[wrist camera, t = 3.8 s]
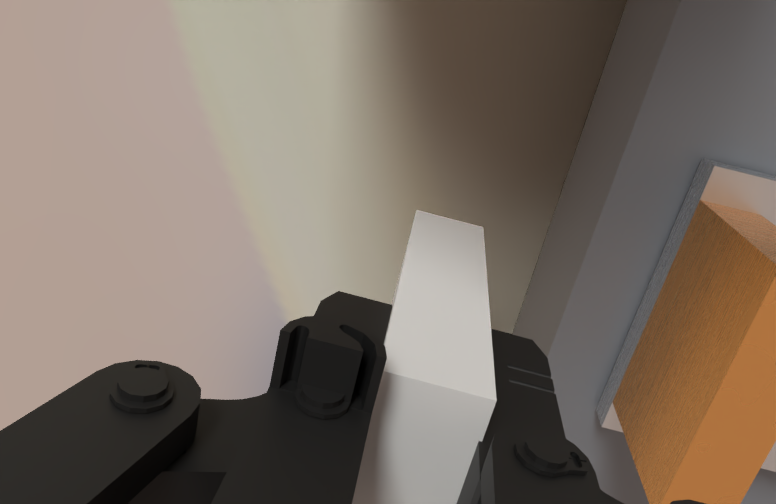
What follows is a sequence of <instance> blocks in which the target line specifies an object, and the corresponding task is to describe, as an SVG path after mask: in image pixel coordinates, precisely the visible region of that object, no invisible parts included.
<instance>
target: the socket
mask: <svg viewBox="0 0 776 504" xmlns="http://www.w3.org/2000/svg"><path fill="white" fill-rule="evenodd" d="M702 158H706V159H710V160H714V161H718V162H722V163H726V164H730V165H734V166H738V167H742V168H746V169H750V170H754V171H758V172H762V173H766V174H770V175H774V176H776V0H627V3H626V6H625V9H624V11H623V14H622V17H621V20H620V23H619V26H618V29H617V32H616V35H615V38H614V40H613V43H612V46H611V49H610V52H609V55H608V58H607V61H606V64H605V67H604V69H603V72H602V75H601V78H600V81H599V84H598V87H597V90H596V93H595V96H594V98H593V101H592V104H591V107H590V110H589V113H588V116H587V119H586V122H585V125H584V127H583V130H582V133H581V136H580V139H579V142H578V145H577V148H576V151H575V154H574V156H573V159H572V162H571V165H570V168H569V171H568V174H567V177H566V180H565V183H564V185H563V188H562V191H561V194H560V197H559V200H558V203H557V206H556V209H555V212H554V214H553V217H552V220H551V223H550V226H549V229H548V232H547V235H546V238H545V241H544V243H543V246H542V249H541V252H540V255H539V258H538V261H537V264H536V267H535V270H534V273H533V275H532V278H531V281H530V284H529V287H528V290H527V293H526V296H525V299H524V302H523V304H522V307H521V310H520V313H519V316H518V319H517V322H516V325H515V328H514V331H513V333H512V334H513V335H516V336H520V337H524V338H528V339H532V340H533V341H534V342H535V343H536V345H537V346H538V347H539V348H540V349H541V351H542V352H543V353H544V354H545V355H546V357H547V358H548V362H549V367H550V371H551V379H552V380H553V384H554V389H555V391H554V394H556V398H557V402H558V406H559V411H560V415H561V419H562V424H563V428H564V433H565V437H566V439H567V440H569V441H570V442H572V443H574V444H575V445H576V446H577V447H578V448H579V449H580V450H581V451H582V452H583V453H584V454H585V455H586V456H587V457H588V459H589V461H590V463H591V464H592V466H593V468H594V470H595V472H596V476H597V480H598V483H599V487H600V489H601V490H602V491H603V492H605V493H606V494H608V495H610V496H611V497H613V498H615V499H617V500H618V501H620V502H622V503H624V504H649V501H648V499H647V496H646V493H645V490H644V488H643V485H642V482H641V479H640V477H639V474H638V471H637V468H636V466H635V463H634V460H633V457H632V455H631V452H630V449H629V446H628V444H627V441H626V438H625V436H624V433H623V432H619V431H615V430H611V429H608V428H604V427H601V424H600V420H599V417H598V414H597V411H596V408H597V405H598V403H599V401H600V398H601V396H602V393H603V391H604V389H605V386H606V384H607V382H608V379H609V377H610V375H611V372H612V370H613V367H614V365H615V363H616V360H617V358H618V356H619V353H620V351H621V349H622V346H623V344H624V341H625V339H626V337H627V334H628V332H629V330H630V327H631V325H632V323H633V320H634V318H635V316H636V313H637V311H638V308H639V306H640V304H641V301H642V299H643V297H644V294H645V292H646V290H647V287H648V285H649V282H650V280H651V278H652V275H653V273H654V271H655V268H656V266H657V264H658V261H659V259H660V256H661V254H662V252H663V249H664V247H665V245H666V242H667V240H668V238H669V235H670V233H671V230H672V228H673V226H674V223H675V221H676V219H677V216H678V214H679V212H680V209H681V207H682V204H683V202H684V200H685V197H686V195H687V193H688V190H689V188H690V186H691V183H692V181H693V178H694V176H695V174H696V171H697V169H698V167H699V164H700V162H701V160H702ZM740 504H776V472H774V471H770V470H766V469H762V468H760V470H759V472H758V473H757V475H756V477H755V479H754V480H753V482H752V484H751V486H750V488H749V489H748V491H747V493H746V495H745V496H744V498H743V500H742V502H741V503H740Z"/></svg>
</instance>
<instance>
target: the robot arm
mask: <svg viewBox="0 0 776 504" xmlns="http://www.w3.org/2000/svg"><path fill="white" fill-rule="evenodd" d="M554 391H555V389H554V384H553V380H552V379H551V371H550V367H549V362H548V358H547V357H546V355H545V354H544V353H543V352H542V351H541V349H540V348H539V347H538V346H537V345H536V343H535V342H534V341H533V340H532V339H528V338H524V337H520V336H516V335H513V334H509V333H505V332H501V331H497V330H493V329H491V320H490V307H489V294H488V281H487V268H486V255H485V242H484V229H483V227H482V226H478V225H474V224H470V223H466V222H462V221H458V220H455V219H451V218H447V217H443V216H439V215H435V214H431V213H427V212H424V211H420V210H416V213H415V217H414V220H413V224H412V228H411V232H410V236H409V239H408V243H407V247H406V251H405V255H404V258H403V262H402V266H401V270H400V274H399V277H398V281H397V285H396V289H395V293H394V296H393V300H392V304H391V305H390V304H386V303H382V302H378V301H374V300H370V299H367V298H363V297H359V296H355V295H351V294H347V293H344V292H340V291H338V292H336V293H334V294H333V295H331V296H329V297H327V298H325V299H324V300H322V301H321V302H320V304H319V306H318V309H317V311H316V313H315V315H314V316H309V317H302V318H299V319H296V320H293V321H290V322H289V323H288V324H287V325H286V326H285V327H284V328H282V329H281V330H280V336H279V341H278V346H277V351H276V356H275V362H274V367H273V372H272V377H271V383H270V387H269V389H268V391H267V393H265V394H262V395H260V396H257V397H252V398H247V399H242V400H241V399H240V400H215V399H200V397H201V396H200V395H201V389H200V387H199V385H198V384H197V382H196V381H195V379H194V378H193V376H191V375H190V374H188V373H186V372H185V371H183V370H182V369H180V368H178V367H176V366H172V365H169V364H166V363H162V362H158V361H142V360H135V361H129V362H123V363H117V364H113V365H111V366H108V367H106V368H104V369H101V370H99V371H96V372H95V373H93V374H92V375H90V376H88V377H87V378H85V379H83V380H82V381H80V382H79V383H77V384H75V385H74V386H72V387H71V388H69V389H67V390H66V391H64V392H62V393H61V394H59V395H58V396H56V397H54V398H53V399H51V400H49V401H48V402H46V403H45V404H43V405H42V406H40V407H38V408H37V409H35V410H33V411H32V412H30V413H28V414H27V415H25V416H24V417H22V418H20V419H19V420H17V421H16V422H14V423H13V424H11V425H9V426H7V427H6V428H4V429H3V430H1V431H0V504H624V503H622V502H620V501H618V500H617V499H615V498H613V497H611V496H610V495H608V494H606V493H605V492H603V491H602V490H601V489H600V487H599V483H598V480H597V476H596V472H595V470H594V468H593V466H592V464H591V463H590V461H589V459H588V457H587V456H586V455H585V454H584V453H583V452H582V451H581V450H580V449H579V448H578V447H577V446H576V445H575V444H574V443H572V442H570V441H569V440H567V439H566V437H565V433H564V428H563V424H562V419H561V415H560V411H559V406H558V402H557V398H556V394H554ZM670 504H706V503H702V502H698V501H693V500H677V501H672V502H671V503H670Z"/></svg>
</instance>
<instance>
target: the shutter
mask: <svg viewBox="0 0 776 504" xmlns="http://www.w3.org/2000/svg"><path fill="white" fill-rule="evenodd" d="M596 411H597V414H598V417H599V420H600V424H601V427H604V428H608V429H611V430H615V431H619V432H623V433H624V436H625V438H626V441H627V444H628V446H629V449H630V452H631V455H632V457H633V460H634V463H635V466H636V468H637V471H638V474H639V477H640V479H641V482H642V485H643V488H644V490H645V493H646V496H647V499H648V501H649V504H670V503H671V502H672V501H677V500H693V501H698V502H702V503H706V504H740V503H741V502H742V500H743V498H744V496H745V495H746V493H747V491H748V489H749V488H750V486H751V484H752V482H753V480H754V479H755V477H756V475H757V473H758V472H759V470H760V468H762V469H766V470H770V471H774V472H776V176H774V175H770V174H766V173H762V172H758V171H754V170H750V169H746V168H742V167H738V166H734V165H730V164H726V163H722V162H718V161H714V160H710V159H706V158H702V160H701V162H700V164H699V167H698V169H697V171H696V174H695V176H694V178H693V181H692V183H691V186H690V188H689V190H688V193H687V195H686V197H685V200H684V202H683V204H682V207H681V209H680V212H679V214H678V216H677V219H676V221H675V223H674V226H673V228H672V230H671V233H670V235H669V238H668V240H667V242H666V245H665V247H664V249H663V252H662V254H661V256H660V259H659V261H658V264H657V266H656V268H655V271H654V273H653V275H652V278H651V280H650V282H649V285H648V287H647V290H646V292H645V294H644V297H643V299H642V301H641V304H640V306H639V308H638V311H637V313H636V316H635V318H634V320H633V323H632V325H631V327H630V330H629V332H628V334H627V337H626V339H625V341H624V344H623V346H622V349H621V351H620V353H619V356H618V358H617V360H616V363H615V365H614V367H613V370H612V372H611V375H610V377H609V379H608V382H607V384H606V386H605V389H604V391H603V393H602V396H601V398H600V401H599V403H598V405H597V408H596Z"/></svg>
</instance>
